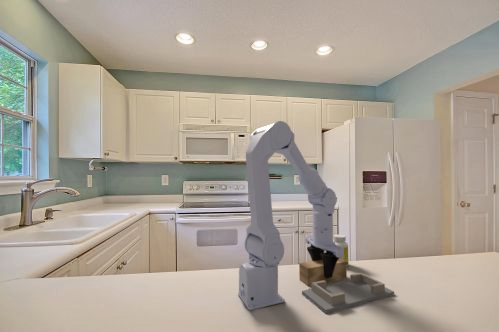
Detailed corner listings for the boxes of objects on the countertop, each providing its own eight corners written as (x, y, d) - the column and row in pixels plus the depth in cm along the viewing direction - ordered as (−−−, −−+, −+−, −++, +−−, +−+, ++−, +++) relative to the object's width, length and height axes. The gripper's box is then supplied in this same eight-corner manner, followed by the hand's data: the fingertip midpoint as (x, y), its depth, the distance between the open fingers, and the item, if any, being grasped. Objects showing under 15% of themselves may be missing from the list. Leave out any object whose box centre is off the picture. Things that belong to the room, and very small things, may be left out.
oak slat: (307, 286, 63) (307, 268, 63) (299, 280, 67) (299, 263, 67) (346, 278, 68) (346, 261, 68) (336, 273, 72) (336, 257, 72)
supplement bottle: (345, 261, 81) (345, 234, 82) (350, 267, 76) (350, 238, 76) (329, 261, 82) (329, 233, 82) (334, 267, 76) (333, 237, 77)
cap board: (325, 313, 50) (325, 300, 51) (301, 294, 59) (301, 282, 59) (394, 294, 59) (394, 283, 59) (364, 280, 67) (364, 270, 67)
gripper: (352, 232, 63) (352, 282, 62) (317, 222, 76) (318, 263, 76) (331, 234, 60) (332, 286, 60) (300, 223, 74) (300, 266, 73)
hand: (323, 274), depth 68 cm, fingers closed on oak slat, 4 cm apart
